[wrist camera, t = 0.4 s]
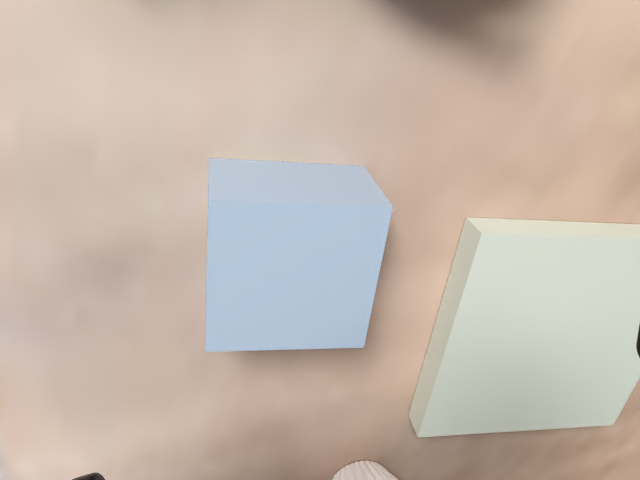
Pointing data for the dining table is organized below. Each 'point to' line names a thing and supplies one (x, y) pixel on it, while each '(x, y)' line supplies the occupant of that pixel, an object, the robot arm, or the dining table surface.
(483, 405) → the pale green square slab
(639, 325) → the robot arm
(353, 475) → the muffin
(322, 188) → the brick
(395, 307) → the dining table surface
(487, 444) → the dining table surface
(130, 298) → the dining table surface
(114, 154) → the dining table surface
